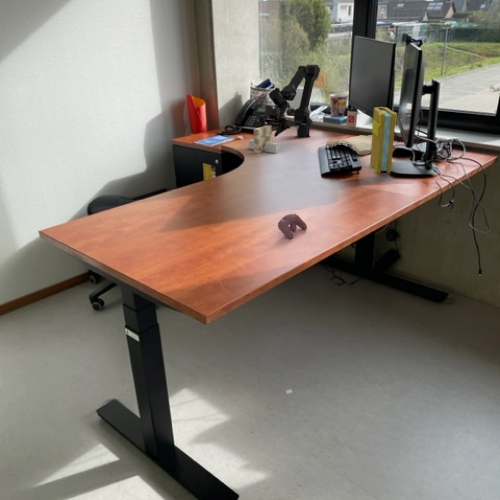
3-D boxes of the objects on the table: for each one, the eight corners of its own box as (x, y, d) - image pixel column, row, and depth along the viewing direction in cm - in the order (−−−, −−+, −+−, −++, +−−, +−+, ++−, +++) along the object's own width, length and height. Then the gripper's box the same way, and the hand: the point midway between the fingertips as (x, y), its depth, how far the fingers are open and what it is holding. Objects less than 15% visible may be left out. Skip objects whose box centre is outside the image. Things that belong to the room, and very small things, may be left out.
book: (391, 173, 206) (397, 113, 195) (375, 173, 206) (380, 114, 196) (382, 162, 221) (387, 106, 210) (368, 162, 222) (371, 107, 211)
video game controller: (298, 231, 159) (290, 212, 158) (309, 228, 156) (301, 208, 155) (281, 242, 152) (273, 221, 151) (292, 239, 149) (283, 218, 148)
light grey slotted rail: (249, 148, 255) (248, 140, 253) (251, 147, 256) (251, 139, 254) (276, 153, 244) (275, 144, 242) (278, 152, 245) (278, 143, 243)
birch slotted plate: (268, 147, 255) (267, 125, 249) (271, 148, 253) (271, 125, 248) (254, 152, 247) (253, 129, 242) (258, 153, 245) (257, 129, 240)
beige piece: (350, 143, 260) (323, 146, 249) (352, 129, 257) (325, 132, 246) (385, 153, 242) (359, 157, 231) (388, 138, 239) (361, 141, 228)
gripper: (259, 99, 251) (246, 124, 249) (287, 102, 240) (275, 128, 238) (268, 112, 260) (256, 136, 258) (296, 115, 249) (284, 141, 247)
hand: (267, 135), depth 250 cm, fingers open, 9 cm apart
